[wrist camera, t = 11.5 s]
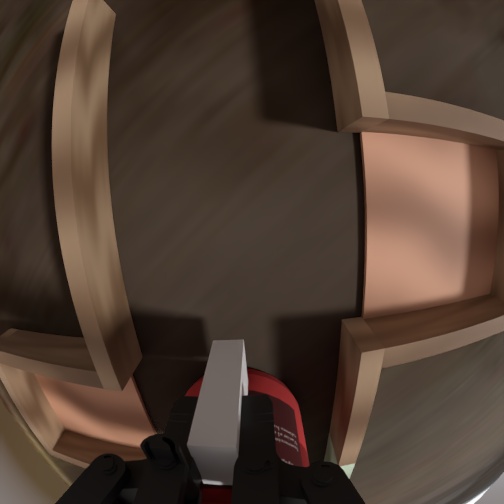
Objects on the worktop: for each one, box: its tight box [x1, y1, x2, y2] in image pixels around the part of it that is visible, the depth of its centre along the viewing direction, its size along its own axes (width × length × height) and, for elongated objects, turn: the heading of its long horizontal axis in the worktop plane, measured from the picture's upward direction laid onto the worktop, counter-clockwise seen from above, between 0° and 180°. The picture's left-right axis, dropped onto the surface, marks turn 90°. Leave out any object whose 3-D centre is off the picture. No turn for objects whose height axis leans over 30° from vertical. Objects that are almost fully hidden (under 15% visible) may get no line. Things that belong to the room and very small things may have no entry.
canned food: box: [185, 368, 310, 504], centre depth 11 cm, size 8×8×11 cm
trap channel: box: [0, 0, 504, 478], centre depth 13 cm, size 38×38×4 cm
